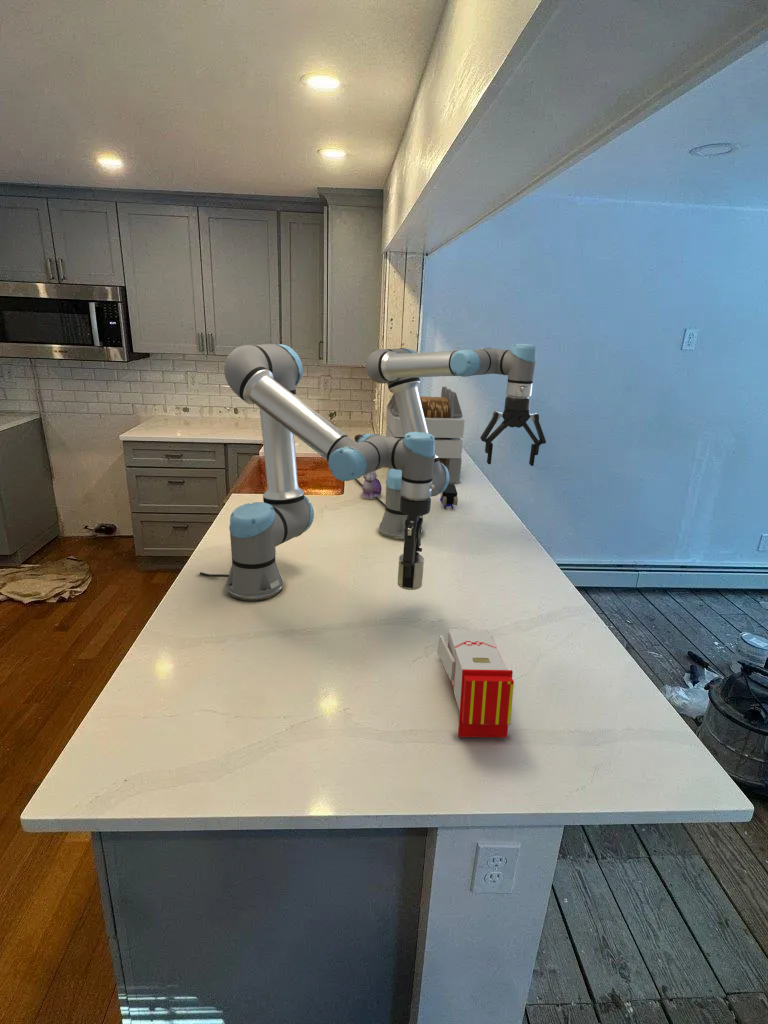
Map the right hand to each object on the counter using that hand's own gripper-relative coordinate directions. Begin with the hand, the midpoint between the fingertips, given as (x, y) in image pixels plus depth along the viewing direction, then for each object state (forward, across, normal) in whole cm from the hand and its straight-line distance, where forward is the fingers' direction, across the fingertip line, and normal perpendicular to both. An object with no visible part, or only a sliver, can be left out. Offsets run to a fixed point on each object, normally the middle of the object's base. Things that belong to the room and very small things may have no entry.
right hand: (510, 464), depth 180 cm
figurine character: (+30, -12, +44) cm, 55 cm away
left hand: (+21, -33, -43) cm, 58 cm away
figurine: (+30, -44, +52) cm, 74 cm away
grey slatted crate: (+30, -21, +90) cm, 97 cm away
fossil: (+30, -52, +126) cm, 139 cm away
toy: (+30, -22, -76) cm, 84 cm away
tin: (+22, -33, -43) cm, 58 cm away
